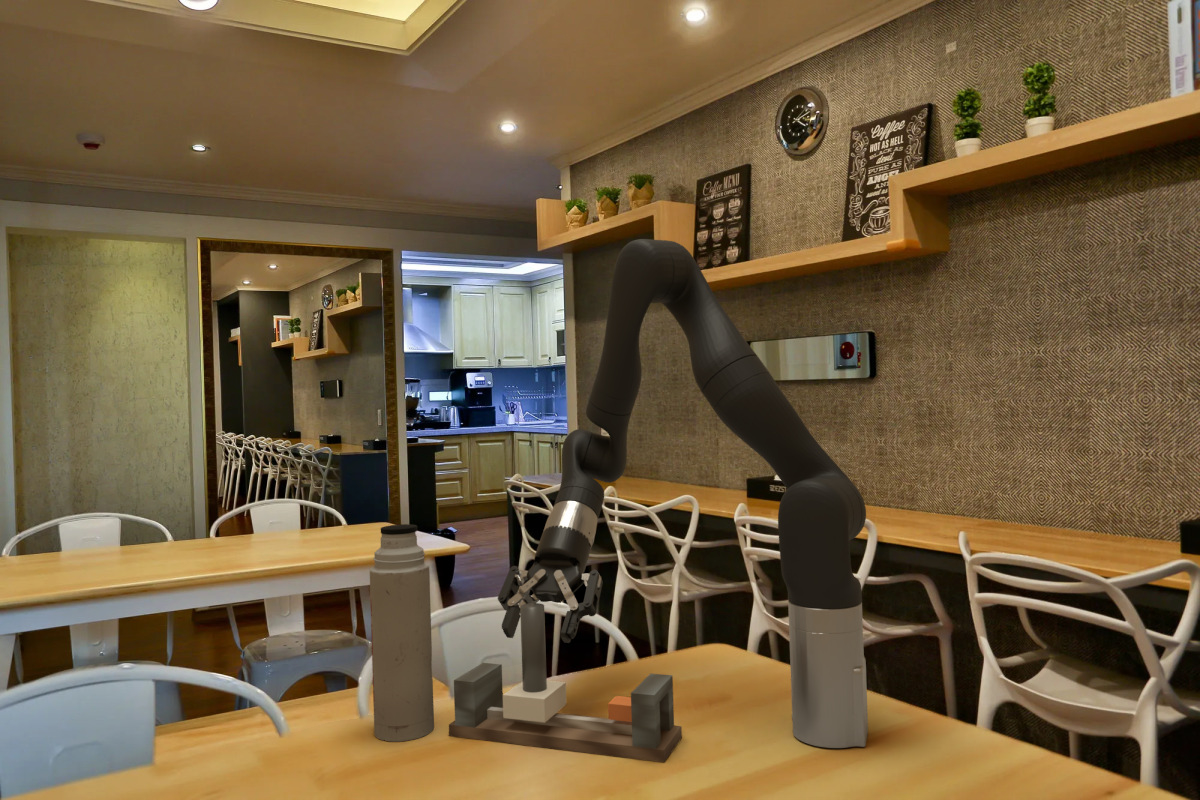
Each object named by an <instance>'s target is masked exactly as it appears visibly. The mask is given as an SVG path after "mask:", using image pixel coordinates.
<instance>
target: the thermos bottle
mask: <svg viewBox="0 0 1200 800" xmlns="http://www.w3.org/2000/svg"><path fill="white" fill-rule="evenodd" d="M417 531H418V525H416V524H409V523H407V524H404V523H403V524H400V523H399V524H391V525H386V526H382V527H380V534H381V537H380V547H379V548H378V549H376V550H375V551H374V557H373V558H372V559H373V561H374V565H373V566H371V567H370V568H369V592H370V594H369V595H370V600H369V601H370V629H371V663H372V664H371V665H372V667H371V668H372V669H371V670H372V692H373V693H372V697H373V698H372V699H373V702H372V703H373V704H372V705H373V729H374V733H373V734H374V736H375V738H377V739H378V738H379V740H381V741H384V740H385V742H407V741H411V740H417V739H420V738H423V737H425V736H427V735H429V734H430V733H431V732H432V731H433V730H434V728H435V717H434V716H435V715H434V714H435V713H434V707H435V706H434V681H433V679H434V678H433V670H432V667H433V666H432V665H433V664H432V661H433V659H432V658H433V656H432V655H433V654H432V652H433V651H432V650H433V648H432V646H433V644H432V643H433V642H432V640H433V639H432V614H431V610H432V609H431V608H432V607H431V583H430V581H431V580H430V564H429V563H428V562H427V563H426V562H425V555H426V553H425V552H424V551H425V550H424V548H423V547H421V546H419V545H418V537H417V534H416V532H417Z"/></svg>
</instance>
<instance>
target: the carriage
mask: <svg viewBox="0 0 1200 800" xmlns="http://www.w3.org/2000/svg"><path fill="white" fill-rule="evenodd" d="M545 619H546V617H545V605H544V604H543V603H541V602H540V603H538V602H537V603H529V604H524V605H521V606H520V639H521V668H522V669H521V670H522V672H521V675H522V676H521V677H522V681H521V682H519V683H518V684H516V685H515V686H513V687H511V688H510V689H508V690H507V692H505V693H504V694H503V718H508V719H517V720H526V721H535V722H544V723H545V722H546V721H548V720H549V719H550V718H551V717H552V716H553V715H555V714H556V713H559V711H560V710H562V709H563V708H564V707H566V706H567V683H566V682H565V681H557V680H556V681H555V680H548V679H547V657H546V656H547V655H546V654H547V653H546V625H545V623H546V620H545Z"/></svg>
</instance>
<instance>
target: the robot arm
mask: <svg viewBox="0 0 1200 800" xmlns="http://www.w3.org/2000/svg"><path fill="white" fill-rule="evenodd" d="M612 275H613V276H612V282H611V288H610V295H609V296H610V297H609V304H608V310H607V318H606V324H605V332H604V339H603V346H602V352H601V357H600V360H599V365H598V368H597V372H596V376H595V379H594V382H593V384H592V388H591V391H590V395H589V398H588V401H587V403H586V409H585V415H586V417H587V419H588V420H589V421H590V422H591V423H593V424H594V425H595V426H597V427H599V428H600V429H602V430H603V431H605V432H606V433H607V434H608V435H609V437H608V436H605V435H602V434H600V433H597V432H593V431H589V430H586V429H582V428H578V429H575V430H573V431H571V432H570V433H569V434H568V435H567V436H566V437H565V438H564V441H563V444H562V449H561V481H560V486H559V490H558V493H557V496H556V498H555V501H554V505H553V507H552V510H551V512H550V513H549V516H548V517H547V519H546V522H545V526H544V529H543V530H542V531H543V532H542V534H541V537H540V540H539V542H538V546H537V548H536V550H535V554H534V559H533V564H532V566H531V567H530V568H529V569H528V570H525V569H524V570H523V569H519V567H518V566H517V565H513V566H510V568H509V571H508V573H507V575H506V577H505V580H504V583H503V584H502V587H501V589H500V592H499V594H498V597H497V601H498V602H499V604H500V605H501V607H502V608H503V610H504V611H505V614H504V617H503V619H502V621H501V622H502V623H501V630H502V631H503V633H504V635H505V637H507V638H509V639H513V638H514V637H515V633H516V630H517V627H518V625H519V622H520V620H521V615H520V606H521V605H524V604H529V603H538V602H539V601H540V603H541V602H542V603H547V602H552V603H556V604H558V603H559V604H561V603H562V602H563V601H565V600H566V603H567V605H568V607H569V610H567V611H566V614H565V617H564V621H563V624H562V627H561V631H560V638H561V640H562V641H563V643H566V644H569V643H571V641H572V640H573V639H574V638H575V637H576V636H577V632H578V628H579V624H580V622H581V619H582V618H584V617H587V616H589V617H595V616H596V615H597V611H598V608H599V602H600V598H601V593H602V587H603V584H604V583H603V579H602V576H601V575H600V573H599V572H598V570H597V569H592V570H591V571H590V572H589V573H585V571H586V568H587V564H588V560H589V557H590V553H591V551H592V547H593V544H594V543H595V537H596V532H597V527H598V521H599V519H600V514H601V511H602V507H603V503H604V501H605V490H604V488H603V486H602V485H601V483H600V482H604V483H614V482H616V481H617V480H619V479H620V478H621V477H622V475H623V474H624V472H625V470H626V466H627V461H628V459H627V457H628V446H627V445H628V443H627V441H628V429H629V424H630V419H631V415H632V413H633V410H634V406H635V403H636V399H637V396H638V394H639V392H640V391H639V390H640V388H641V382H642V359H641V352H640V351H641V350H640V333H641V328H642V325H643V322H644V318H645V316H646V313H647V312H648V309H649V307H650V305H651V304H662V305H663V306H664V307H665V308H666V309H667V310H668V312H670V313H671V315H672V317H674V319H675V321H676V322H677V323H678V325H679V326H680V327H681V330H682V331H683V333H684V335H685V336H686V340H687V342H688V347H689V354H690V355H689V356H690V363H691V368H692V373H693V377H694V380H695V382H696V385H697V387H698V388H699V390H700V392H701V393H702V394H703V396H704V398H705V400H707V402H708V403H709V405H710V407H711V408H712V409H713V411H714V413H715V414H716V416H718V418H719V419H720V421H721V422H722V423H723V424H724V425H725V426H726V427H727V428H728V429H729V430H730V431H731V432H732V433H733V434H734V435H736V436H737V438H739V439H740V440H741V441H742V442H743V443H745V444H746V445H747V446H748V447H750V448H751V449H752V450H753V451H754V452H755V453H756V454H758V455H759V456H760V457H761V458H763V460H764V461H765V462H767V464H768V465H769V466H770V468H771V469H772V470H773V471H774V473H776V475H777V476H778V478H779V479H780V480H781V482H782V484H783V486H784V487H785V489H786V490H785V492H784V493H783V495H782V496H781V500H780V502H779V506H778V514H777V529H778V531H777V532H778V543H779V544H778V546H779V557H780V558H779V559H780V569H781V576H782V578H783V582H784V583H785V586H786V589H787V599H788V600H787V603H788V605H787V606H788V607H787V608H788V609H787V611H788V628H789V629H788V633H789V638H788V639H789V660H790V663H789V664H790V665H789V666H790V687H791V689H790V692H791V694H790V695H791V721H792V734H793V736H794V737H795V738H796V739H797V740H799V741H801V742H803V743H805V744H807V745H811V746H815V747H820V748H827V749H845V748H853V747H860V748H861V747H862V748H865V747H866V745H867V739H868V732H869V719H868V717H869V715H868V694H867V693H868V692H867V691H868V690H867V687H868V686H867V665H866V657H865V655H864V653H865V651H864V630H863V629H864V627H863V623H864V621H863V599H862V598H863V596H862V584H861V581H860V580H859V579H858V578H857V577H856V576H855V575H854V573H853V570H852V564H851V561H852V559H851V550H850V549H851V547H850V541H851V540H854V539H855V538H856V537H857V536H858V535H859V534H860V533H861V532H862V531H863V528H864V527H865V524H866V518H867V507H866V504H865V500H864V498H863V496H862V494H861V492H860V490H859V488H858V487H857V486H856V485H855V484H854V482H853V481H852V480H851V478H849V477H848V476H847V474H846V473H845V472H844V471H843V470H842V469H841V468H840V467H839V466H838V464H837V463H836V462H835V461H834V460H833V458H831V457H830V455H829V453H827V452H826V451H825V449H824V448H823V447H822V446H821V445H820V443H819V442H818V441H817V440H816V439H815V437H814V436H813V434H812V433H811V432H810V430H809V429H808V428H807V426H806V425H805V423H804V422H803V419H802V418H801V417H800V415H799V414H798V412H797V411H796V409H795V408H794V407H793V405H792V404H791V402H790V401H789V399H788V398H787V396H786V395H785V393H784V392H783V391H782V389H781V388H780V386H779V385H778V383H777V381H776V380H775V379H774V377H773V376H772V373H770V371H769V370H768V369H767V367H766V365H765V364H764V363H763V362H762V360H761V358H760V357H759V356H758V355H757V353H756V352H755V351H754V349H753V348H752V347H751V345H749V343H748V341H747V340H746V339H745V338H744V336H743V334H741V332H740V330H739V329H738V328H737V326H736V324H735V322H733V321H732V319H731V318H730V316H729V315H728V313H727V312H726V310H725V309H724V308H723V307H722V305H721V304H720V302H719V300H718V298H717V297H716V295H715V293H714V291H713V290H712V288H711V286H710V285H709V283H708V281H707V279H706V278H705V276H704V274H703V272H702V270H701V267H700V266H699V265H698V263H697V261H696V260H695V258H694V257H693V255H692V254H691V252H690V251H689V250H688V249H687V248H686V247H685V246H683V244H680V243H678V242H676V241H672V240H666V239H649V238H640V239H635V240H631V241H629V242H628V243H626V244H625V246H623V248H622V249H621V250H620V252H619V254H618V256H617V259H616V262H615V266H614V270H613V274H612ZM599 481H600V482H599ZM583 584H584V585H585V587H586V589H585V593H584V596H583V597H584V598H583V602H580V603H578V600H577V597H576V596H575V594H574V593H576V591H578V589H579V588H580V587H582V586H583ZM531 591H532V593H533V594H532V595H530V592H531Z"/></svg>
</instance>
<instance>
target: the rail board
mask: <svg viewBox="0 0 1200 800" xmlns="http://www.w3.org/2000/svg"><path fill="white" fill-rule="evenodd" d="M502 666H503V665H502V663H501V664H500V663H491V662H490V663H489V662H482V663H481V664H478V665H477V666H475V667H474V668H472V669H470V670H468V671H467V672H465V673H463V674H462V675H460V676H458V677H457V678H455V679H454V680H453V696H454V699H453V701H454V702H453V703H454V720H452V722H450V723H449V724H448V736H449V737H453V738H454V737H456V738H464V739H469V740H470V739H473V740H480V741H489V742H494V743H495V742H496V743H505V744H513V745H521V746H527V747H529V746H530V747H538V748H544V749H553V750H559V751H560V750H561V751H569V752H577V753H585V754H595V755H600V756H610V757H616V758H617V757H619V758H625V759H635V760H642V761H649V762H650V761H651V762H657V763H658V762H659V763H665V762H666V761H667V759H668V758H669V756H670V755H671V753H673V751H674V750H675V749H676V747H677V745H678V743H679V742H680V741H681V740H682V738H683V731H682V726H681V725H675V715H674V714H675V713H674V712H675V709H674V708H675V707H674V683H673V682H674V681H673V675H672V674H661V673H649V674H648V675H647V676H646V677H645V678H644V679H643V681H642V682H640V684H638V685H637V686H636V687H635V689H633V690H632V691H631V693H630V697H631V713H632V722H628V721H619V720H609V717H600V716H590V715H581V714H572V713H563V712H562V713H561V712H557V713H556V714H555V715H553V716H552V717H551V718H550V719H549V720H548V721H546V722H545V723H544V722H535V721H526V720H517V719H508V718H503V692H504V690H503V667H502Z"/></svg>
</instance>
